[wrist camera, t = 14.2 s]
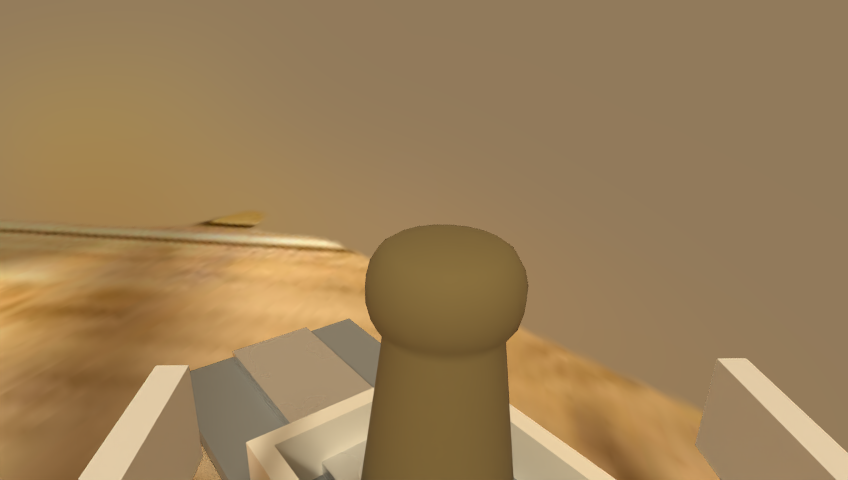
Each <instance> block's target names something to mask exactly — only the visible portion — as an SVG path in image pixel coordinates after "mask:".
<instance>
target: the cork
mask: <svg viewBox="0 0 848 480" xmlns="http://www.w3.org/2000/svg"><path fill="white" fill-rule="evenodd" d="M527 292H528V282H527V275H526V270H525V268H524V266H523V264H522V262H521V260H520V259H519V256H518V255H517V253H516V251H515V250H514V247H513V246H511V245H510V244H508V243H507V242H505V241H504V240H502V239H501V238H499V237H498V236H496V235H494V234H491V233H489V232H486V231H484V230H480V229H475V228H471V227H466V226H457V225H428V226H418V227H414V228H410V229H406V230H403V231H401V232H399V233H397V234H395V235H393V236H391V237H389V238H387V239H385V240H384V241H383V242H382V243H381V245H380V246H379V247H378V248H377V250H376V251H375V253H374V254H373V256H372V257H371V259H370V262H369V266H368V269H367V273H366V281H365V300H366V306H367V309H368V313H369V316H370V319H371V321H372V323H373V324H374V326H375V328H376V329H377V331H378V332H379V333H380V335H381V336H382V339H381V346H380V353H379V360H378V367H377V373H376V380H375V387H374V394H373V401H372V407H371V414H370V421H369V428H368V435H367V442H366V448H365V455H364V462H363V469H362V476H361V480H514V476H513V459H512V441H511V424H510V406H509V388H508V371H507V353H506V341H507V340H508V339H509V338H510V337H511V336H512V335H513V334H514V333H515V332H516V331H517V330H518V328H519V325H520V323H521V320H522V318H523V315H524V311H525V306H526V299H527Z"/></svg>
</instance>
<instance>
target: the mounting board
mask: <svg viewBox="0 0 848 480" xmlns="http://www.w3.org/2000/svg"><path fill="white" fill-rule="evenodd" d="M311 332H312V333H313V334H314V335H315V336H316V337H318V338H319V339H320V340H321V341H322V342H323V343H324V344H325V345H326V346H328V347H329V348H330V349H331V350H332V351H333V352H334V353H335V354H336V355H337V356H339V357H340V358H341V359H342V360H343V361H344V362H345V363H346V364H347V365H349V366H350V367H351V368H352V369H353V370H354V371H355V372H356V373H357V374H358V375H360V376H361V377H362V378H363V379H364V380H365V381H366V382H367V383H368V384H370V385H371V386H372V387H373V388H374V387H375V380H376V373H377V367H378V360H379V353H380V346H381V343H380V342H378V341H377V340H376V339H374V338H373V337H372V336H371V335H369V334H368V333H367V332H365V331H364V330H363V329H362V328H360V327H359V326H358V325H357V324H355V323H354V322H353V321H351V320H350V319H347V320H344V321H341V322H338V323H335V324H332V325H329V326H326V327H323V328H320V329H316V330H313V331H311ZM190 376H191V382H192V389H193V396H194V402H195V409H196V415H197V422H198V428H199V435H200V442H201V443H202V445H203V447H204V449H205V450H206V452H207V454H208V456H209V458H210V459H211V461H212V463H213V465H214V466H215V468H216V470H217V472H218V474H219V475H220V477H221V479H222V480H250V473H249V464H248V455H247V447H246V442H247V441H250V440H252V439H254V438H257V437H259V436H261V435H264V434H266V433H268V432H271V431H273V430H276V429H278V428H280V427H283V424H282V423H281V422H280V420H279V419H278V418H277V417H276V415H275V414H274V413H273V412H272V410H271V409H270V408H269V407H268V405H267V404H266V403H265V401H264V400H263V399H262V398H261V396H260V395H259V394H258V393H257V391H256V390H255V389H254V387H253V386H252V385H251V384H250V382H249V381H248V380H247V379H246V377H245V376H244V375H243V373H242V372H241V371H240V370H239V368H238V367H237V366H236V365H235V363H234V361H233V357H232V358H229V359H226V360H223V361H220V362H217V363H214V364H211V365H208V366H205V367H202V368H199V369H196V370H193V371H190ZM313 480H326V479H325V478H324V476H323V475H321V476H319V477H317V478H315V479H313ZM514 480H517V479H515V478H514Z"/></svg>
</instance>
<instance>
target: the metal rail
mask: <svg viewBox="0 0 848 480" xmlns="http://www.w3.org/2000/svg"><path fill="white" fill-rule="evenodd" d="M232 353H233V361H234V363H235V365H236V366H237V367H238V368H239V370H240V371H241V372H242V373H243V375H244V376H245V377H246V379H247V380H248V381H249V382H250V384H251V385H252V386H253V387H254V389H255V390H256V391H257V393H258V394H259V395H260V396H261V398H262V399H263V400H264V401H265V403H266V404H267V405H268V407H269V408H270V409H271V410H272V412H273V413H274V414H275V415H276V417H277V418H278V419H279V420H280V422H281V423H282V424H283V426H285V425H287V424H290V423H292V422H294V421H297V420H299V419H301V418H304V417H306V416H308V415H311V414H313V413H315V412H318V411H320V410H322V409H325V408H327V407H329V406H332V405H334V404H336V403H339V402H341V401H343V400H346V399H348V398H350V397H353V396H355V395H357V394H360V393H362V392H364V391H367V390H369V389H371V388H373V387H372V386H371V385H370V384H368V383H367V382H366V381H365V380H364V379H363V378H362V377H361V376H360V375H358V374H357V373H356V372H355V371H354V370H353V369H352V368H351V367H350V366H349V365H347V364H346V363H345V362H344V361H343V360H342V359H341V358H340V357H339V356H337V355H336V354H335V353H334V352H333V351H332V350H331V349H330V348H329V347H328V346H326V345H325V344H324V343H323V342H322V341H321V340H320V339H319V338H318V337H316V336H315V335H314V334H313V333H312V332H311V331H310V330H309V329H308V328H307V327H306V328H303V329H300V330H297V331H294V332H290V333H287V334H284V335H281V336H278V337H275V338H272V339H269V340H266V341H263V342H260V343H257V344H254V345H251V346H247V347H244V348H241V349H238V350H235V351H232ZM366 442H367V440H365V441H363V442H361V443H359V444H357V445H355V446H353V447H351V448H349V449H347V450H345V451H343V452H341V453H339V454H336V455H334V456H332V457H330V458H328V459H326V460H324V461H322V475H323V476H324V478H325V479H326V480H361V476H362V469H363V462H364V455H365V448H366Z"/></svg>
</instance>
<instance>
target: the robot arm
mask: <svg viewBox="0 0 848 480" xmlns="http://www.w3.org/2000/svg"><path fill="white" fill-rule="evenodd" d="M695 445H696V447H697V448H698V450H699V451H700V452H701V454H702V455H703V456H704V458H705V459H706V461H707V462H708V463H709V465H710V466H711V467H712V469H713V470H714V471H715V473H716V474H717V476H718V477H719V478H720V480H848V453H847V452H846V451H845V450H844V449H843V448H842V447H841V446H839V445H838V444H837V443H836V442H835V441H834V440H833V439H832V438H831V437H830V436H829V435H828V434H827V433H826V432H825V431H823V430H822V429H821V428H820V427H819V426H818V425H817V424H816V423H815V422H814V421H813V420H812V419H810V417H808V416H807V415H806V414H805V413H804V412H803V411H802V410H801V409H800V408H799V407H798V406H797V405H796V404H794V403H793V402H792V401H791V400H790V399H789V398H788V397H787V396H786V395H785V394H784V393H783V392H782V391H780V389H778V388H777V387H776V386H775V385H774V384H773V383H772V382H771V381H770V380H769V379H768V378H767V377H765V376H764V375H763V374H762V373H761V372H760V371H759V370H758V369H757V368H756V367H755V366H754V365H753V364H751V362H749V361H748V360H747V359H746V358H730V359H729V358H727V359H726V358H725V359H717V361H716V365H715V369H714V373H713V377H712V381H711V384H710V388H709V392H708V397H707V400H706V404H705V408H704V412H703V416H702V420H701V424H700V428H699V432H698V435H697V439H696V443H695ZM202 456H203V455H202V448H201V442H200V435H199V428H198V422H197V415H196V409H195V402H194V396H193V389H192V382H191V376H190V369H189V365H156V366H155V368H154V369H153V370H152V372H151V373H150V375H149V376H148V378H147V379H146V381H145V382H144V384H143V385H142V387H141V388H140V389H139V391H138V392H137V394H136V395H135V397H134V398H133V400H132V401H131V403H130V404H129V405H128V407H127V408H126V410H125V411H124V413H123V414H122V416H121V417H120V419H119V420H118V422H117V423H116V424H115V426H114V427H113V429H112V430H111V432H110V433H109V435H108V436H107V438H106V439H105V441H104V442H103V443H102V445H101V446H100V448H99V449H98V451H97V452H96V454H95V455H94V457H93V458H92V459H91V461H90V462H89V464H88V465H87V467H86V468H85V470H84V471H83V473H82V474H81V476H80V477H79V478H78V480H193V477H194V475H195V473H196V470H197V468H198V466H199V463H200V461H201V459H202Z"/></svg>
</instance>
